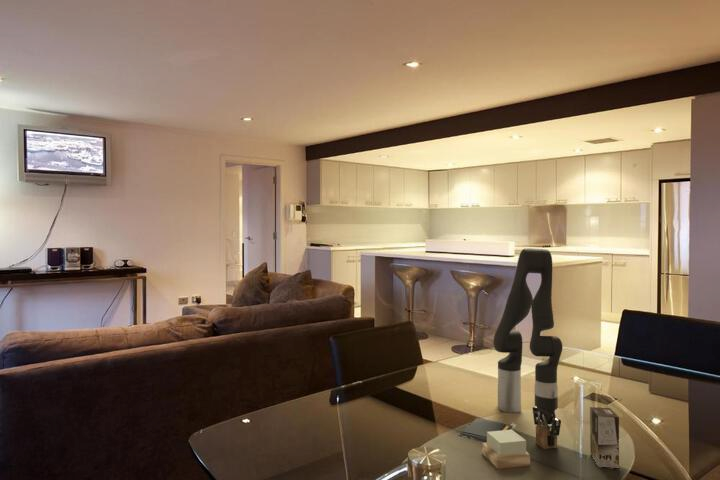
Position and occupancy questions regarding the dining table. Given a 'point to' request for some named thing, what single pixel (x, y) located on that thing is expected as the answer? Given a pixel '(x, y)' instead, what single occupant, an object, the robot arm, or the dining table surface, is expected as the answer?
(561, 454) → the dining table surface
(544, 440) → the walnut block
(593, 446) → the coffee box
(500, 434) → the tower top
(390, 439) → the dining table surface
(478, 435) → the dark grey book
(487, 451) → the tower base
